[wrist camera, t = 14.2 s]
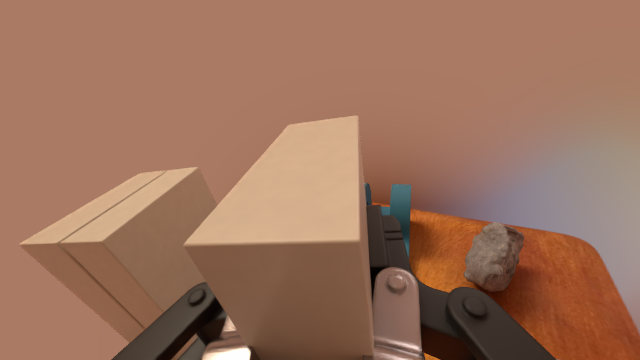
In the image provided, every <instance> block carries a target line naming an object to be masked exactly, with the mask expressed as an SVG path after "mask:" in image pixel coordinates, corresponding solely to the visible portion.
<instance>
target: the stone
mask: <svg viewBox="0 0 640 360" xmlns="http://www.w3.org/2000/svg"><path fill="white" fill-rule="evenodd" d="M523 240H524V235H523V234H522V233H521V232H518V231H517V230H516V229H515V228H512V227H509V226H507V225H502V224H499V223H490V224H488V225H487V226H485V227H483V229H482V232H481V233H480V234H479V235H476V236H475V238H474V239H473V241H472V242H473V245H472V248H471V249H470V251H469V252H468V254H467V256H466V259H465V263H466V268H467V269H466V271H465V272H464V277H465V278H466V279H467V281H469V282H473V283H475V284H477V285H478V286H480V287H482V288H483V289H485V290H488V291H491V292H492V291H503V290H505V288H506V287H507V286H508V285H509V283H510V281H511V279H512V277H513V275H514V272H515V267H516V265H517V264H518V263H519V253H520V251H521V249H522V247H523Z"/></svg>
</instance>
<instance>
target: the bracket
mask: <svg viewBox="0 0 640 360" xmlns="http://www.w3.org/2000/svg"><path fill="white" fill-rule="evenodd" d="M364 184H365V195H366V205H372V202H371V190H370V186H369V184H368V183H364ZM410 205H411V185H403V184H393V185H392V190H391V201H390V207H381V211H382V215H394V217H395V218H396V219H397V220H398V221H399V222H400V226H401V230H402V234H403V239H404V242H405V247H406V251H407V255H408V259H409V241H410Z"/></svg>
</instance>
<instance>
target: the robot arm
mask: <svg viewBox="0 0 640 360" xmlns="http://www.w3.org/2000/svg"><path fill="white" fill-rule="evenodd" d="M366 212H367V229H368V246H369V263H370V275H371V285H372V295H373V303H372V317H373V334H374V354H373V355H372V356H370V355H363V356H362V360H423V355H422V352H424V353H426V354H429V355H431V356H433V357H436V358H438V359H440V360H556V359H555V358H554V357H553V356H552V355H551V354H550V353H549V352H548V351H547V350H546V349H545V348H544V347H543V346H542V345H540V344H539V343H538V342H537V341H536V340H535V339H534V338H533V337H532V336H531V335H530V334H529V333H528V332H527V331H526V330H525V329H524V328H523V327H522V326H521V325H519V324H518V323H517V322H516V321H515V320H514V319H513V318H512V317H511V316H510V315H509V314H508V313H507V312H506V311H505V310H504V309H503V308H502V307H501V306H500V305H499V304H497V303H496V302H495V301H494V300H493V299H492V298H491V297H490V296H488V295H487V294H485V293H483V292H482V291H479V290H477V289H474V288H469V287H459V288H455V289H454V290H452V291H451V292H450V293H447V292H444V291H440V290H437V289H434V288H431V287H429V286H426V285H425V284H423V283H422V282H420V281H419V280H418V279H417V278H416V277H415V276H414V274H413V272H412V270H411V267H410V263H409V259H408V255H407V251H406V247H405V242H404V239H403V234H402V230H401V226H400V222H399V221H398V220H397V219H396V218H395V217H394V215H382V211H381V205H366ZM195 334H196V335H197V336H198V337H197V338H196V340H195V341H194V342H193V343H192V344H191V345H190V346H189V347H188V348H187V349H186V350H185V352H184V353H183V354H182V355H181V356H180V357H179V358H178V359H177V360H260V358H259V356H258V355H257V353H256V352H255V350H254V348H253V347H252V346H247V345H246V343H245V342H244V340H243V339H242V337H241V336H240V334H239V332H238V331H237V329H236V328H235V326H234V325H233V323H232V322H231V320H230V318H229V317H228V315H227V314H226V312H225V311H224V309H223V307H222V306H221V304H220V303H219V301H218V300H217V298H216V297H215V295H214V293H213V292H212V290H211V289H210V287H209V286H208V284H207V282H203V283H200V284H197V285H196V286H194V287H192V288H191V289H190V290H188V291H187V292H186V293H185V294H184V295H183V296H182V297H181V298H180V299H178V300H177V301H176V302H175V303H174V304H173V305H172V306H171V307H169V308H168V309H167V310H166V311H165V312H164V313H163V314H162V315H161V316H159V317H158V318H157V319H156V320H155V321H154V322H153V323H152V324H151V325H149V326H148V327H147V328H146V329H145V330H144V331H143V332H142V333H141V334H139V335H138V336H137V337H136V338H135V339H134V340H133V341H132V342H130V343H129V344H128V345H127V346H126V347H125V348H124V349H123V350H122V351H120V352H119V353H118V354H117V355H116V356H115V357H114V358H113V359H112V360H171V359H172V358H173V357H174V356H175V355H176V354H177V353H178V352H179V351H180V350H181V349H182V348H183V347H184V345H185V344H186V343H187V342H188V341H189V340H190V339H191V338H192V337H193V336H194V335H195Z"/></svg>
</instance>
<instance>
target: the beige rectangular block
mask: <svg viewBox="0 0 640 360" xmlns="http://www.w3.org/2000/svg"><path fill="white" fill-rule="evenodd" d="M183 246H184V248H185V250H186V251H187V253H188V254H189V256H190V257H191V259H192V261H193V262H194V264H195V265H196V267H197V268H198V270H199V272H200V273H201V275H202V276H203V278H204V279H205V281H206V282H207V284H208V286H209V287H210V289H211V290H212V292H213V293H214V295H215V297H216V298H217V300H218V301H219V303H220V304H221V306H222V307H223V309H224V311H225V312H226V314H227V315H228V317H229V318H230V320H231V322H232V323H233V325H234V326H235V328H236V329H237V331H238V332H239V334H240V336H241V337H242V339H243V340H244V342H245V343H246V345H247V346H252V347H253V348H254V350H255V352H256V353H257V355H258V356H259V358H260V360H362V356H363V355H370V356H372V355H373V354H374V334H373V317H372V303H373V295H372V285H371V275H370V263H369V246H368V229H367V212H366V195H365V184H364V173H363V162H362V151H361V140H360V130H359V118H358V116H357V115H356V116H349V117H342V118H335V119H328V120H321V121H313V122H306V123H299V124H292V125H288V127H287V128H286V129H285V130H284V131H283V132H282V133H281V134H280V136H279V137H278V138H277V139H276V140H275V141H274V142H273V143H272V145H271V146H270V147H269V148H268V149H267V150H266V151H265V153H264V154H263V155H262V156H261V157H260V158H259V159H258V161H257V162H256V163H255V164H254V165H253V166H252V167H251V168H250V170H249V171H248V172H247V173H246V174H245V175H244V176H243V177H242V179H241V180H240V181H239V182H238V183H237V184H236V185H235V186H234V187H233V189H232V190H231V191H230V192H229V193H228V194H227V195H226V197H225V198H224V199H223V200H222V201H221V202H220V203H219V204H218V206H217V207H216V208H215V209H214V210H213V211H212V212H211V213H210V215H209V216H208V217H207V218H206V219H205V220H204V221H203V223H202V224H201V225H200V226H199V227H198V228H197V229H196V230H195V232H194V233H193V234H192V235H191V236H190V237H189V238H188V239H187V241H186V242H185V243H184V245H183Z"/></svg>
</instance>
